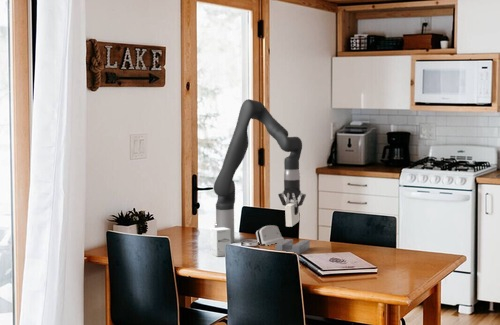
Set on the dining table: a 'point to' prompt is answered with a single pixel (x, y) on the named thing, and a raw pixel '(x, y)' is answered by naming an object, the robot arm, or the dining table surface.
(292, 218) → the door panel
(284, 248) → the door track
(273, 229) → the hinge
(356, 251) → the dining table surface
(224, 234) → the supplement box
